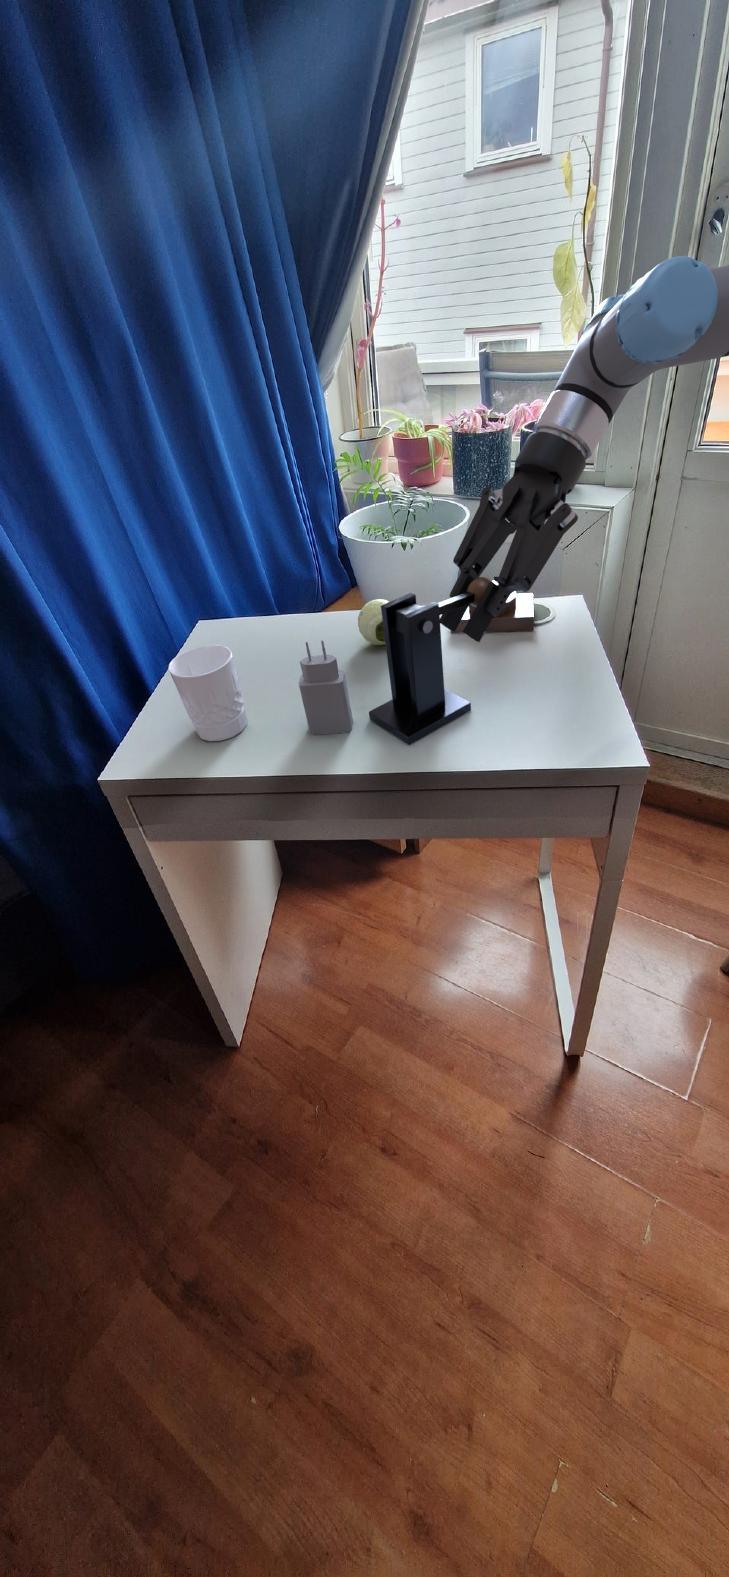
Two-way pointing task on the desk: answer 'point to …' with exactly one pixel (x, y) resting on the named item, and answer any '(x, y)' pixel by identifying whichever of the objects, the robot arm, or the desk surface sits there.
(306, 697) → the power adapter
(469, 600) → the lever
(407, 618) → the bracket
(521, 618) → the button block
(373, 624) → the tennis ball
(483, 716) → the desk surface
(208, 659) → the white cup
